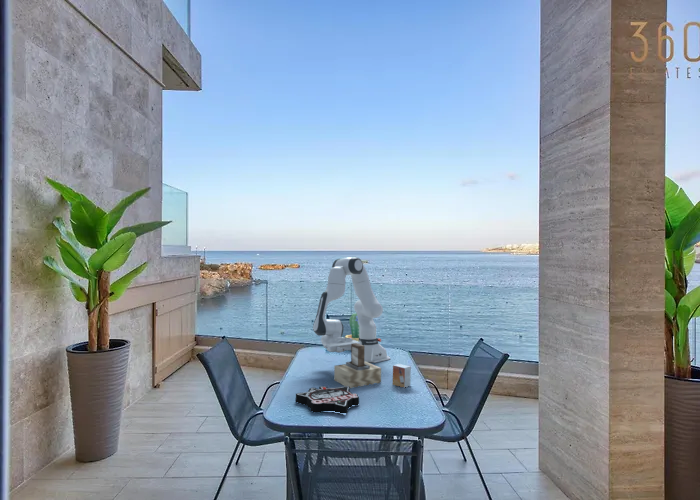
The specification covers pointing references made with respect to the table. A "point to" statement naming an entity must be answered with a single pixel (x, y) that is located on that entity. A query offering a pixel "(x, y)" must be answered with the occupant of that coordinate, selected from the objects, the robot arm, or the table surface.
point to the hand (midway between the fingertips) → (350, 349)
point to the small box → (401, 375)
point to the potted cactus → (354, 327)
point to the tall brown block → (357, 354)
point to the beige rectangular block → (357, 374)
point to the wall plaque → (328, 399)
